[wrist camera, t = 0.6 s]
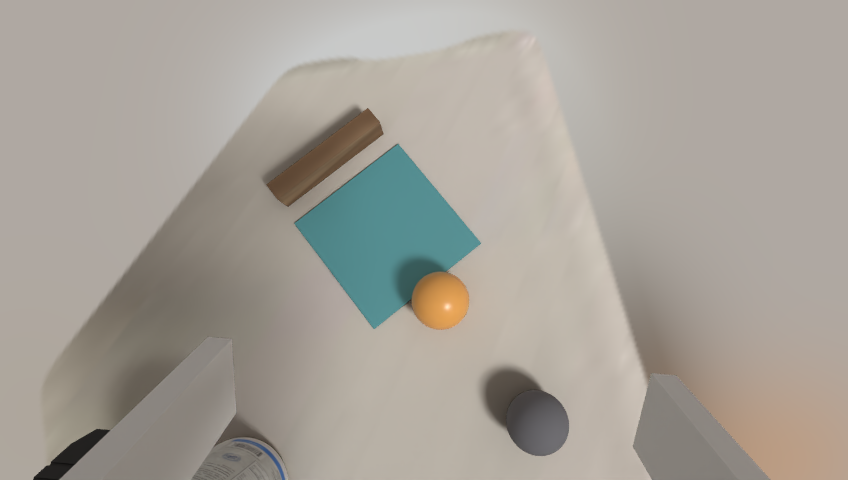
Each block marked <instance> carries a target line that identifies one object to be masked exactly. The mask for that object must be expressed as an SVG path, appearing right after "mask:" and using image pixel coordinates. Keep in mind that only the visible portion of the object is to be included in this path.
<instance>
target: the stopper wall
mask: <svg viewBox="0 0 848 480" xmlns="http://www.w3.org/2000/svg"><path fill="white" fill-rule="evenodd" d="M382 135H383V131H382V128H381V125H380V122H379V121H378V120H377V118H376V117H375V116H374V115H373V114H372V112H371V111H370V110H369V109H368V108H367V109H366V110H365V111H363V112H362V113H361V114H359V115H358V116H357V117H355V118H354V119H353V120H351V121H350V122H349V123H347V124H346V125H345V126H343V127H342V128H341V129H339V130H338V131H337V132H336V133H334V134H333V135H332V136H330V137H329V138H328V139H326V140H325V141H324V142H322V143H321V144H320V145H318V146H317V147H316V148H314V149H313V150H312V151H310V152H309V153H308V154H306V155H305V156H304V157H302V158H301V159H300V160H298V161H297V162H296V163H294V164H293V165H292V166H290V167H289V168H288V169H286V170H285V171H284V172H282V173H281V174H280V175H278V176H277V177H276V178H274V179H273V180H272V181H271V182H269V183H268V184H267V186H268V188H269V189H270V190H271V192H272V193H273V194H274V196H275V197H276V198H277V200H279V201H280V202H282V203H283V204H285V205H286V206H290V205H291V204H292V203H294V202H295V201H296V200H298V199H299V198H300V197H301V196H303V195H304V194H305V193H307V192H308V191H309V190H311V189H312V188H313V187H315V186H316V185H317V184H319V183H320V182H321V181H322V180H324V179H325V178H326V177H328V176H329V175H330V174H332V173H333V172H334V171H336V170H337V169H338V168H340V167H341V166H342V165H343V164H345V163H346V162H347V161H349V160H350V159H351V158H353V157H354V156H355V155H357V154H358V153H359V152H361V151H362V150H363V149H364V148H366V147H367V146H368V145H370V144H371V143H372V142H374V141H375V140H376V139H378V138H379V137H380V136H382Z"/></svg>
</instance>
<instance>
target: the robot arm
mask: <svg viewBox="0 0 848 480" xmlns="http://www.w3.org/2000/svg"><path fill="white" fill-rule="evenodd" d="M236 413H237V412H236V395H235V379H234V362H233V346H232V339H230V338H218V337H207V338H206V339H205V340H204V341H203V342H202V343H201V344H200V345H199V346H198V347H197V348H196V349H195V350H194V351H193V352H191V353H190V354H189V355H188V356H187V357H186V358H185V359H184V360H183V361H182V362H181V363H180V364H179V365H178V366H177V367H176V368H175V369H174V370H173V371H172V372H171V373H170V374H169V375H168V376H167V377H166V378H164V379H163V380H162V381H161V382H160V383H159V384H158V385H157V386H156V387H155V388H154V389H153V390H152V391H151V392H150V393H149V394H148V395H147V396H146V397H145V398H144V399H143V400H142V401H141V402H140V403H138V404H137V405H136V406H135V407H134V408H133V409H132V410H131V411H130V412H129V413H128V414H127V415H126V416H125V417H124V418H123V419H122V420H121V421H120V422H119V423H118V424H117V425H116V426H115V427H114V428H112V429H111V430H103V429H96V430H94V431H92V432H91V433H89V434H87V435H86V436H84V437H82V438H80V439H79V440H77V441H75V442H73V443H72V444H70V445H69V446H68V447H67V448H66V449H65V450H64V451H63V452H61V453H60V454H59V455H58V456H57V457H56V458H55V459H54V460H53V461H51V464H50V465H49V466H46V467H45V468H44V469H42V470H41V471H40V472H39V473H38V474H37V475H36V476H35V477H34V479H33V480H191V479H192V477H193V476H194V475H195V473H196V472H197V470H198V469H199V467H200V466H201V464H202V463H203V461H204V460H205V458H206V457H207V455H208V454H209V452H210V451H211V450H212V448H213V447H214V445H215V444H216V442H217V441H218V439H219V438H220V436H221V435H222V433H223V432H224V430H225V429H226V427H227V426H228V425H229V423H230V422H231V420H232V419H233V417H234V416H235V414H236ZM633 448H634V449H635V451H636V453H637V454H638V456H639V458H640V460H641V461H642V463H643V465H644V466H645V468H646V470H647V472H648V473H649V475H650V477H651V479H652V480H770V479H769V478H768V476H767V475H766V474H765V473H764V472H763V471H762V470H761V469H760V468H759V466H758V465H757V464H756V463H755V462H754V461H753V460H752V459H751V458H750V457H749V456H748V454H747V453H746V452H745V451H744V450H743V449H742V448H741V447H740V445H738V443H737V442H736V441H735V440H734V439H733V438H732V437H731V436H730V434H728V432H727V431H726V430H725V429H724V428H723V427H722V426H721V424H720V423H718V421H717V420H716V419H715V418H714V417H713V416H712V415H711V413H710V412H709V411H708V410H707V409H706V408H705V407H704V406H703V405H702V403H701V402H700V401H699V400H698V399H697V398H696V397H695V396H694V395H693V393H692V392H691V391H690V390H689V389H688V388H687V387H686V386H685V385H684V383H683V382H682V381H681V380H680V379H679V378H678V377H677V376H676V375H666V374H654V373H651V377H650V381H649V385H648V388H647V392H646V396H645V400H644V404H643V408H642V412H641V416H640V420H639V424H638V428H637V432H636V436H635V440H634V444H633Z"/></svg>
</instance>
